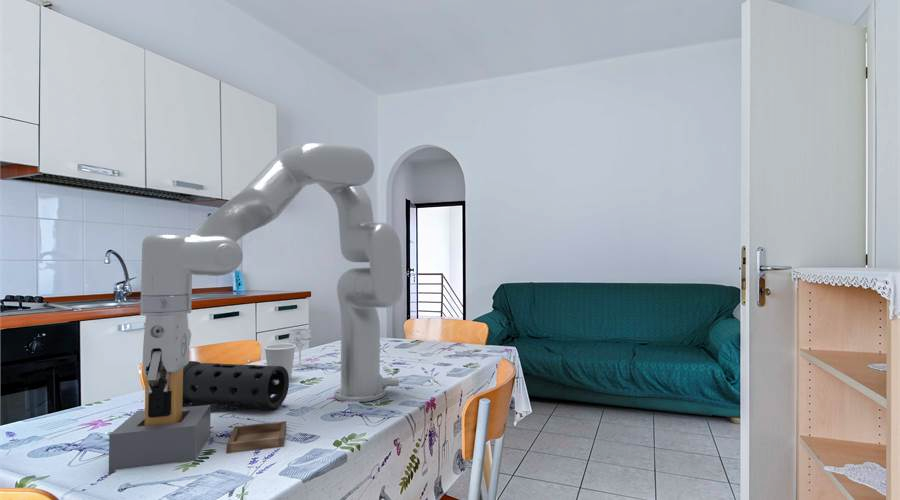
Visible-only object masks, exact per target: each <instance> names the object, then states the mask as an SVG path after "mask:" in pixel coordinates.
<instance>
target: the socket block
mask: <svg viewBox="0 0 900 500" xmlns="http://www.w3.org/2000/svg"><path fill="white" fill-rule="evenodd" d="M211 408H212V405H203V406H182V422H179V423H169V424H158V425H148V426H144V425H145V410H138V411H136V412H134V413H133V414H132V415H131V416H130V417H129V418H127V419H126V420H125V421H124V422H123V423H121V424H120V425H119V426H118V427H116V428H115V429H114V430H113V431H111V432H110V433H109V435H108V440H109V441H108V474H114V473H115V472H116V470H124V469H132V468H134V469H135V468H141V467H142V468H143V467H150V466H159V465H166V464H175V463H184V462H192V461H193V462H194V461H196V459H197V457H198V456H199V455H200V453H201V451H202V449H203V447H204V446H205V444H206V443H207V441H208V439H209V437H210V436H211V413H212V412H211Z"/></svg>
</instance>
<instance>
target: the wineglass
mask: <svg viewBox="0 0 900 500" xmlns="http://www.w3.org/2000/svg"><path fill="white" fill-rule="evenodd" d="M311 330H312V329H310V328H295V329H290V330H288V332H289V335H288V341H289V343H290V344H295V345H296V347H297V349H298V360H299V361H298V365H297V366H295V367H296V368H303V367H304V365H301V364H302V362H301V361H302V349H303V347H305V346H307V345H308V344H309V342H311V339H312V334H311Z"/></svg>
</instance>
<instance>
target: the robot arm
mask: <svg viewBox="0 0 900 500" xmlns="http://www.w3.org/2000/svg"><path fill="white" fill-rule="evenodd" d="M374 173H375V162H374V161H373V158H372V156H371V155H370V154H369V153H368V152H367V151H366V150H364V149H363V148H359V147H355V146H348V145H347V146H346V145H337V144H332V143H331V144H329V143H322V142H321V143H319V142H308V143H307V142H306V143H303V144H300V145H296V146H293V147H290V148H287V149H284V150H282V151H281V152H279V153H278V154H277V155H276V156H275V157H274V158H272V160H271V161H270V162H269V163H268V164H266V166H265V167H264V168H263V169H262V170H261V171H260V172H259V173H257V175H256V176H255V177H254V178H253V179H252V180H251V181H250V182H249V183H248V184H247V185H246V186H245V187H244V188H243V189H242V190H240V191H239V192H238V193H237V194H236V195H234V196H233V197H231V198H230V199H229V200H227V202H226V203H224V204H223V205H222V206H220V207H219V208H218V209H216V210H215V211H214V212H213V213H211V214H209V216H207V217H206V218H205V219H204V220H203V221H202V222H201V223H200V224H199V225H197V227H196V228H194V230H192V232H191V233H189V235H188V236H186V235H182V234H170V233H169V234H167V233H165V234H163V233H158V234H150V235H147V236H145V237H144V238H143V241H142V243H141V244H142V245H141V246H142V247H141V271H140V272H141V273H140V274H141V276H140V281H141V282H140V283H141V284H140V316H145V322H144V323H145V324H144V332H143V344H142V345H143V346H142V371H143V374H145V376H146V375H148V377H147V380H148V382H149V390H148V393H149V398H148V417H150V418H151V417H163V416H169V415H170V414H171V391H169V385H170V371H171V372H172V374H175V373H177V372H178V371H180V370H181V369H182V368H183V367H185V366H186V365H187V364H188V363H189V361H190V346H189V330H190V328H189V316H188V314H190V313H191V314H192V292H193V289H192V288H193V285H192V284H193V276H209V277H220V276H226V275H230V274H231V273H233V272H234V271H236V270H237V269H238V268H239V267H240V266H241V264H242V261H243V258H244V257H243V255H244V254H243V249H242V247H241V245H240V244H239V243H238V242H237V241H239V240H240V239H241V238H243V237H244V236H246V235H247V234H249V233H251V232H253V231H255V230H257V229H259V228H262V227H265V226H266V225H268V224H270V223H271V222H273V221H274V220H276V219H278V217H279V216H280V215H281V214H282V213H283V211H285V209H286V208H287V207H288V206H289V205H290V204H291V202H293V201H294V199H295V198H296V197H297V196H298V195H299V194H300V193H301V192H302V190H303V189H304V188H306V187H307V186H310V185H315V184H318V185H319V186H320V187H321V188H322V189H323V190H325V191H326V193H328V194H329V196H330V197H331V198H332V200H333V202H334V203H335V206H336V208H337V216H338V227H339V228H338V229H339V242H340V243H339V244H340V252H341V255H342V257H343V258H344V259H345V260H347V261H348V262H350V263H351V262H352V263H369V267H354V268H351V269H348V270H346V271H345V272H344V273H342V274H341V276H339V279H338V281H337V286H336V293H337V294H336V295H337V300H338V304H339V310H340V311H339V313H340V388H337V389H335V391H334V393H333V394H334V395H333V396H334V398H335V399H336V400H338V401H341V402H358V403H363V402H371V401H372V402H373V401H377V400H379V399H382V398H384V397H385V396H386V394H387V387H399V385H400V381H399V380H400V379H399V378H398V377H394V378H393V377H392V376H391V377H383V376H382V375H381V368H380V367H381V365H380V364H381V359H380V358H381V353H380V352H381V349H380V347H381V346H380V345H381V338H380V337H381V334H380V333H381V327H380V326H381V325H380V318H379V314H378V312H377V309H376V308H380V309H381V308H382V309H383V308H384V309H386V308H387V309H388V308H391V307H393V306H396V304H398V302H399V301H400V299H401V297H402V295H403V287H404V279H403V276H404V275H403V264H402V263H403V261H402V260H403V259H402V246H401V245H402V244H401V241H400V240H401V239H400V237H399V235H398V232H397V231H396V230H395V228H394V227H392V225H391V224H388V223H385V222H375V220H374V213H373V212H374V211H373V203H372V201H371V198H370V195H369V194H368V192H367V191H366V189H365V188H364V186H363V185H365V184H367V183H369V182H370V180H371V179H372V178H373V175H374ZM160 370H166V373H159V372H160ZM148 372H149V373H148ZM160 377H165V380H163V379H162V378H160Z"/></svg>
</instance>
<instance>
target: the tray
mask: <svg viewBox="0 0 900 500" xmlns="http://www.w3.org/2000/svg"><path fill="white" fill-rule="evenodd" d="M286 431H287V421H286V420H284V421H272V422H264V423H253V424H244V425H235V426H234V428H233V429H232V432H231V434H230V436H229V438H228V441H227V443H226V448H225V450H226V452H225V453H226V454H232V453H233V454H234V453H242V452H249V451H259V450H268V449H269V450H270V449H276V448H277V449H278V448H283V447H284V446H285V438H286Z"/></svg>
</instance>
